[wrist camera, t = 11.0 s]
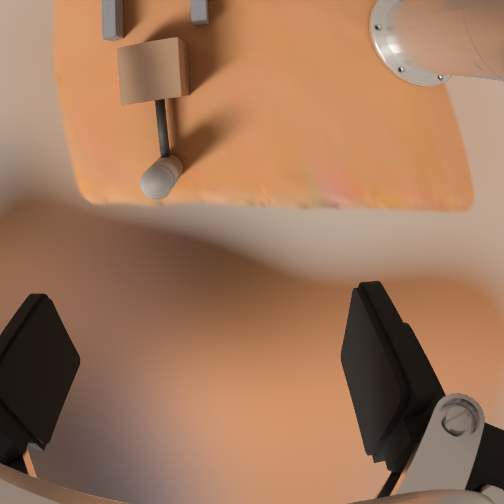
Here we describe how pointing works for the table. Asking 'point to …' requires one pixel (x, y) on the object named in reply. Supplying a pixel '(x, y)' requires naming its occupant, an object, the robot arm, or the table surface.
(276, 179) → the table surface
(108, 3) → the lane rack
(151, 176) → the tan block with knob
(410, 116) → the table surface
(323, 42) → the table surface
